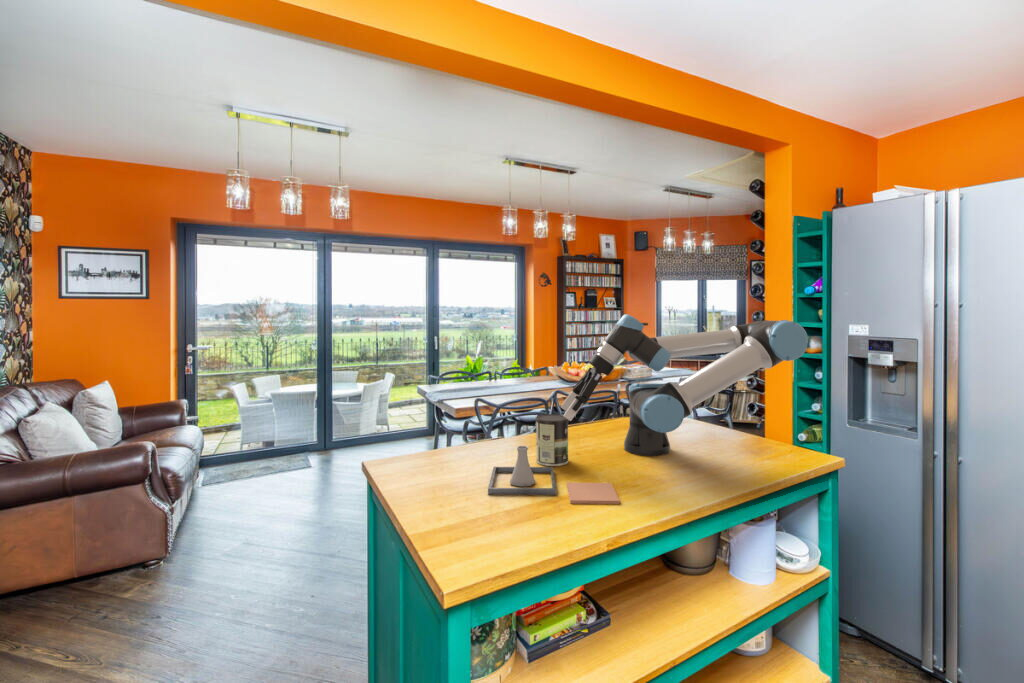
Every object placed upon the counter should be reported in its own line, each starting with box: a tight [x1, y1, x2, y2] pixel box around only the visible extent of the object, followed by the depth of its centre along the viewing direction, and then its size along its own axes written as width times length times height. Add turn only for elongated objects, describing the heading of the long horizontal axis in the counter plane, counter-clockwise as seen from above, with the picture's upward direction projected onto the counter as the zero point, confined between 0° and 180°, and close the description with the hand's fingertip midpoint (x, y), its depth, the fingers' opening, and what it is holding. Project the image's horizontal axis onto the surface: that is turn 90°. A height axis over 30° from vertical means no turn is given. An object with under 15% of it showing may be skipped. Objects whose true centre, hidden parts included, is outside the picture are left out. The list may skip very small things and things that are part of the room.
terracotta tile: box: [566, 482, 621, 505], centre depth 117 cm, size 12×12×1 cm
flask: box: [509, 445, 536, 487], centre depth 126 cm, size 7×7×10 cm
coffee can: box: [535, 413, 569, 467], centre depth 144 cm, size 10×10×14 cm
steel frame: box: [487, 466, 557, 496], centre depth 126 cm, size 18×18×2 cm
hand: (565, 413), depth 143 cm, fingers open, 13 cm apart
